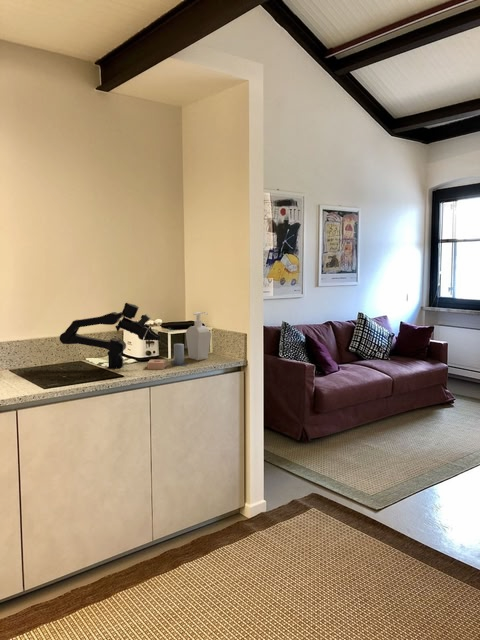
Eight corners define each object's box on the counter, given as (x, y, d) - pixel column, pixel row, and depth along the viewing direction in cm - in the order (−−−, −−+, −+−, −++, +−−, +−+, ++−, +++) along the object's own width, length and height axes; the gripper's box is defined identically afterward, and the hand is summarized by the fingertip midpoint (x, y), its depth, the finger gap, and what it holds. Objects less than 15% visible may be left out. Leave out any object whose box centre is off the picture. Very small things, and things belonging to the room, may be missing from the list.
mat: (168, 366, 267) (168, 366, 267) (171, 363, 276) (171, 362, 276) (186, 367, 267) (186, 366, 267) (188, 363, 276) (188, 362, 276)
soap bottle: (213, 359, 288) (213, 312, 285) (198, 361, 282) (198, 313, 279) (200, 356, 297) (200, 310, 294) (185, 358, 291) (185, 311, 288)
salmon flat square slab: (147, 369, 260) (147, 362, 260) (150, 366, 268) (150, 359, 268) (163, 369, 260) (163, 362, 260) (166, 366, 268) (166, 359, 268)
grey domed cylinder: (173, 365, 269) (173, 345, 268) (174, 363, 274) (174, 343, 273) (183, 365, 269) (183, 345, 268) (184, 363, 274) (184, 343, 273)
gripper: (135, 312, 253) (165, 325, 255) (138, 310, 271) (166, 322, 273) (126, 333, 253) (156, 346, 255) (130, 330, 271) (158, 341, 273)
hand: (159, 338), depth 264 cm, fingers open, 9 cm apart
